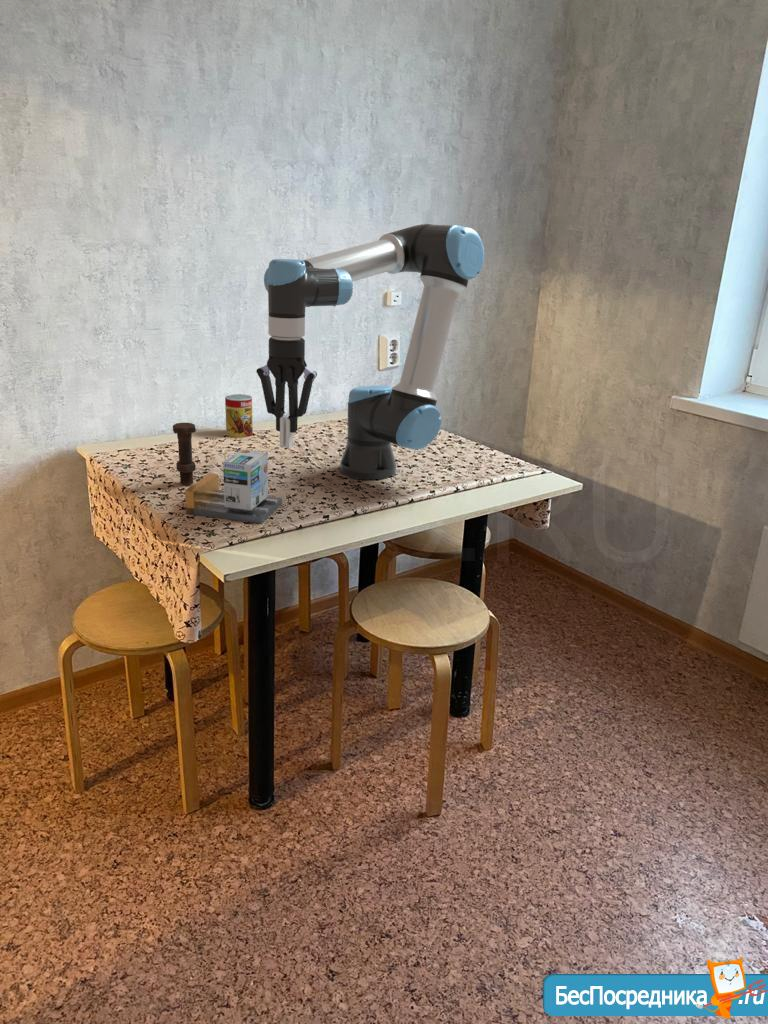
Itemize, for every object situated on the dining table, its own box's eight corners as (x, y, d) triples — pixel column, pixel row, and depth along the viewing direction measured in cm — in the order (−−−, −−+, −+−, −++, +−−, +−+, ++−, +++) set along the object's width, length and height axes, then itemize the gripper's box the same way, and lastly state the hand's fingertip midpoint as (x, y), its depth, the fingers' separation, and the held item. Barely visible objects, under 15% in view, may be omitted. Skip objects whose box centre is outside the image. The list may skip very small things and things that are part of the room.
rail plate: (281, 504, 182) (281, 482, 180) (261, 523, 170) (261, 500, 168) (210, 495, 185) (210, 473, 183) (186, 513, 173) (185, 490, 171)
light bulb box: (251, 511, 171) (250, 465, 167) (223, 507, 172) (221, 461, 168) (269, 495, 180) (268, 451, 177) (242, 492, 182) (241, 448, 178)
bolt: (183, 488, 188) (180, 429, 183) (170, 483, 191) (167, 425, 186) (202, 483, 193) (200, 425, 187) (189, 478, 196) (187, 421, 190)
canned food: (250, 440, 230) (249, 400, 226) (223, 438, 230) (222, 399, 226) (254, 433, 238) (254, 394, 233) (229, 431, 238) (228, 393, 233)
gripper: (323, 337, 163) (321, 444, 171) (262, 332, 165) (263, 438, 174) (312, 342, 156) (311, 454, 164) (249, 337, 159) (250, 447, 167)
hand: (286, 445), depth 169 cm, fingers closed
